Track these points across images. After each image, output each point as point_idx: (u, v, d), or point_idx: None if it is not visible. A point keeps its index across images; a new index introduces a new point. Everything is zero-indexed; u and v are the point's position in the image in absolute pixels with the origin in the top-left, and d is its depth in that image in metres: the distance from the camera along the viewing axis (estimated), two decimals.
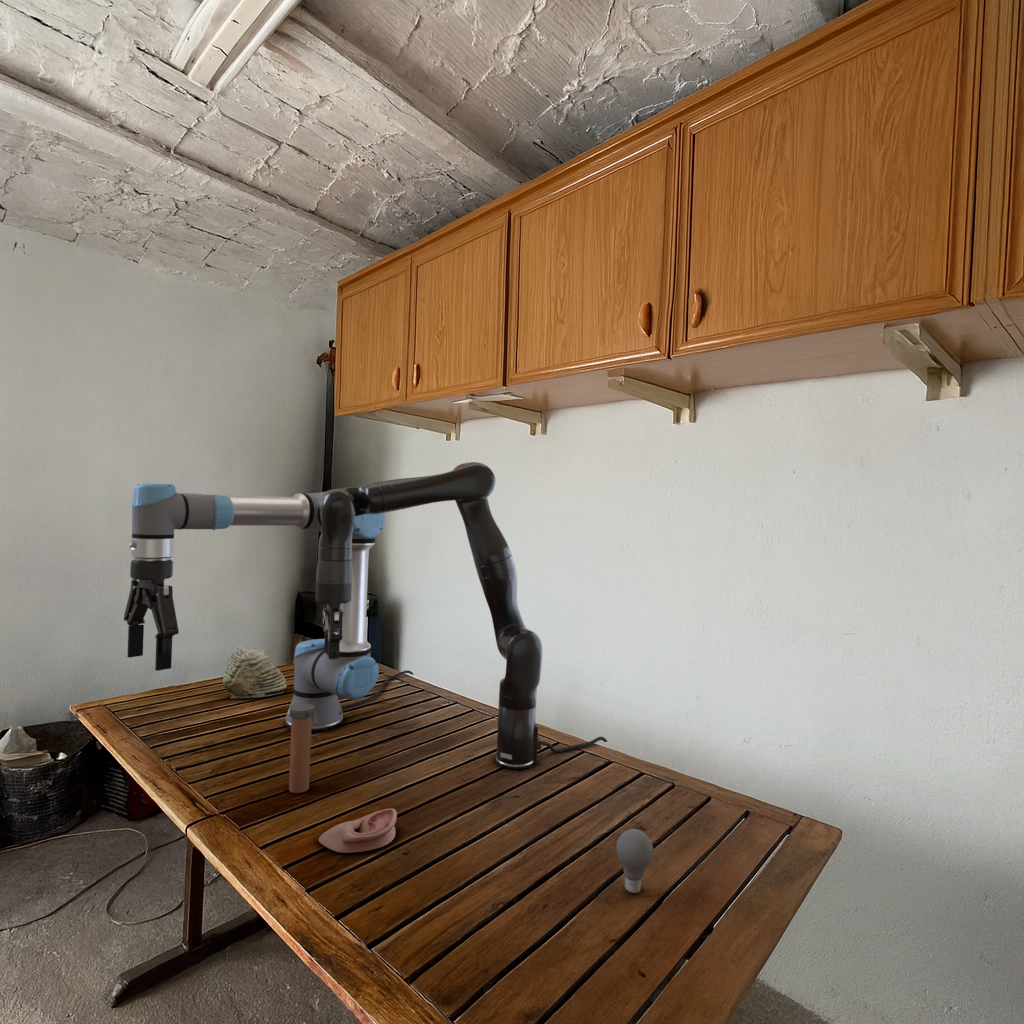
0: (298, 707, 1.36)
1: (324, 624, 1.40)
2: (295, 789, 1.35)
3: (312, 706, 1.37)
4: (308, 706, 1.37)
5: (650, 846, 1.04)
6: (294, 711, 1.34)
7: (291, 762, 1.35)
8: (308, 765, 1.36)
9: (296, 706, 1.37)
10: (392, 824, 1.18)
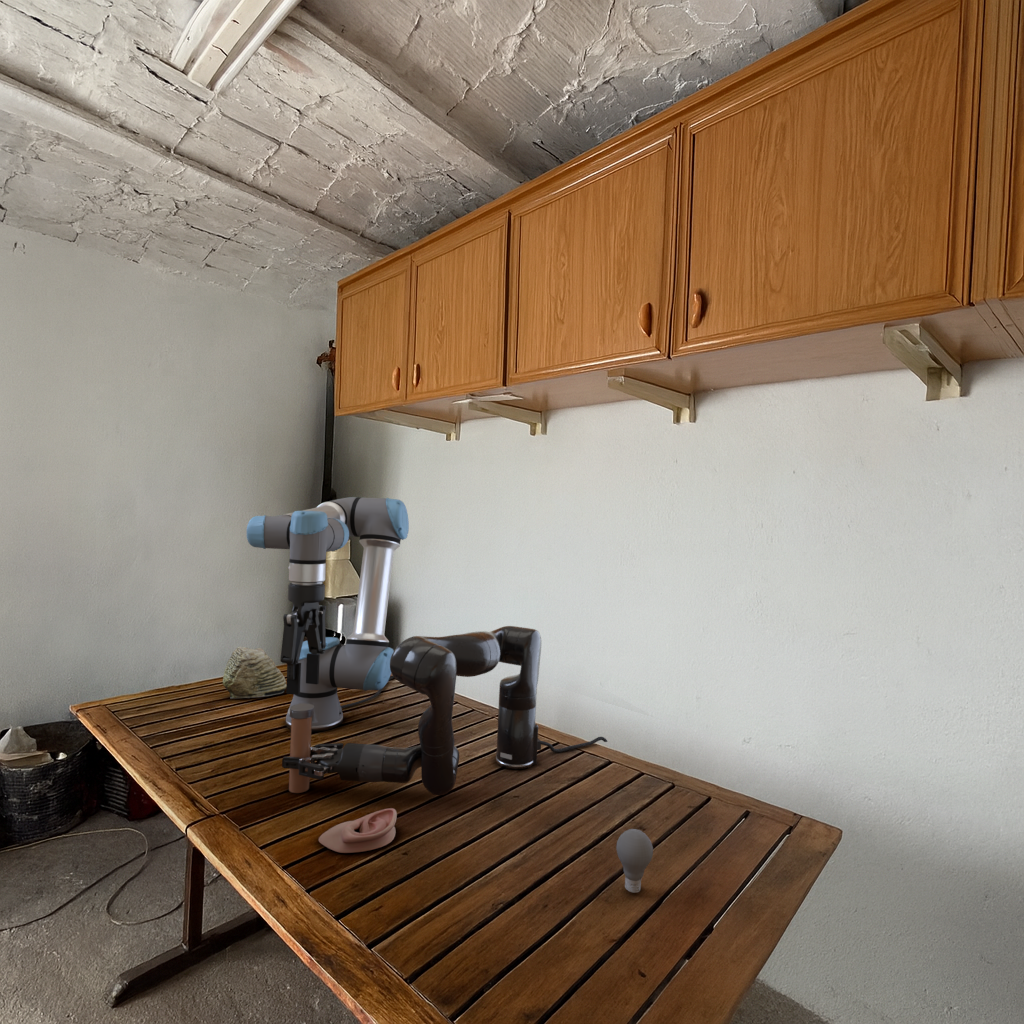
0: (298, 707, 1.36)
1: None
2: (295, 789, 1.35)
3: (312, 706, 1.37)
4: (308, 706, 1.37)
5: (650, 846, 1.04)
6: (294, 711, 1.34)
7: None
8: None
9: (296, 706, 1.37)
10: (392, 824, 1.18)
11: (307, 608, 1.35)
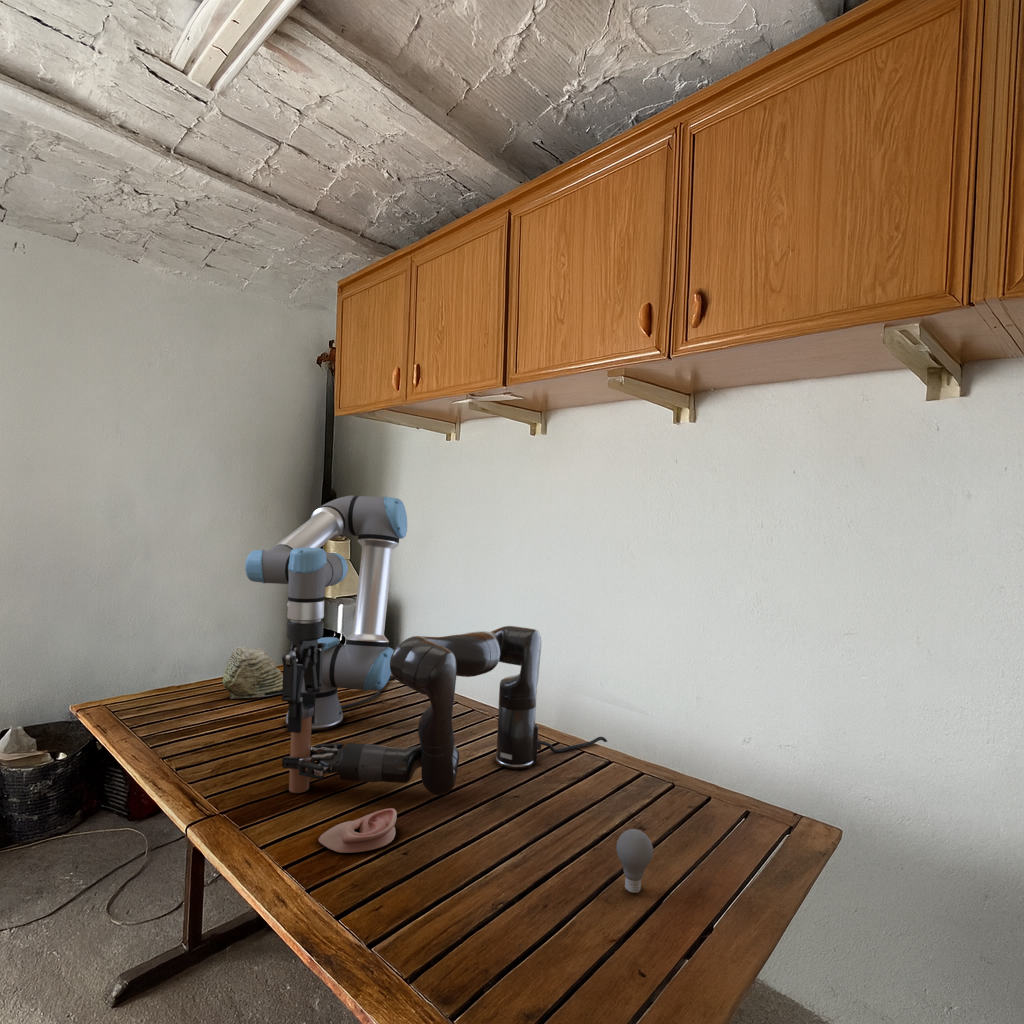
0: None
1: None
2: (295, 789, 1.35)
3: (312, 706, 1.37)
4: (308, 706, 1.37)
5: (650, 846, 1.04)
6: None
7: None
8: None
9: None
10: (392, 824, 1.18)
11: (306, 646, 1.35)
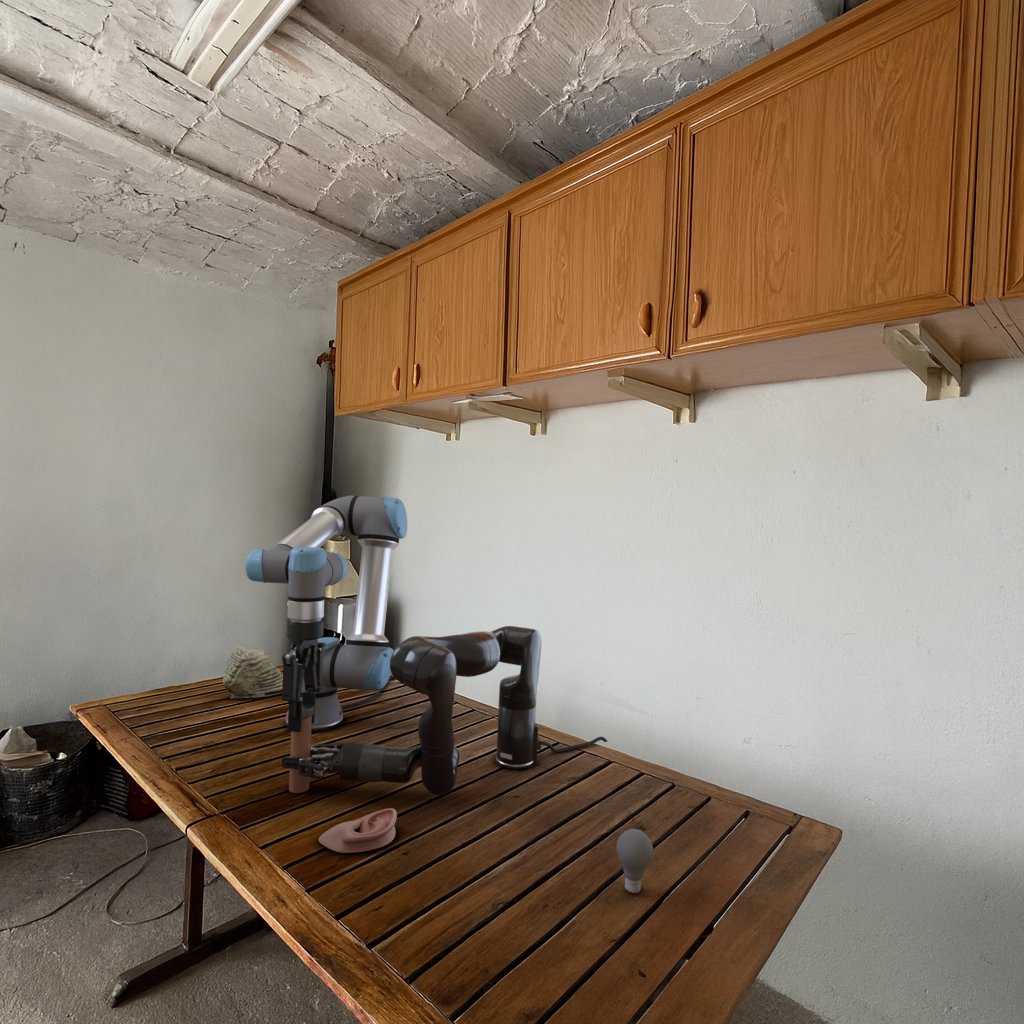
0: (302, 707, 1.36)
1: None
2: (295, 789, 1.35)
3: (304, 703, 1.39)
4: (302, 704, 1.38)
5: (650, 846, 1.04)
6: (309, 710, 1.35)
7: None
8: None
9: None
10: (392, 824, 1.18)
11: (306, 645, 1.35)
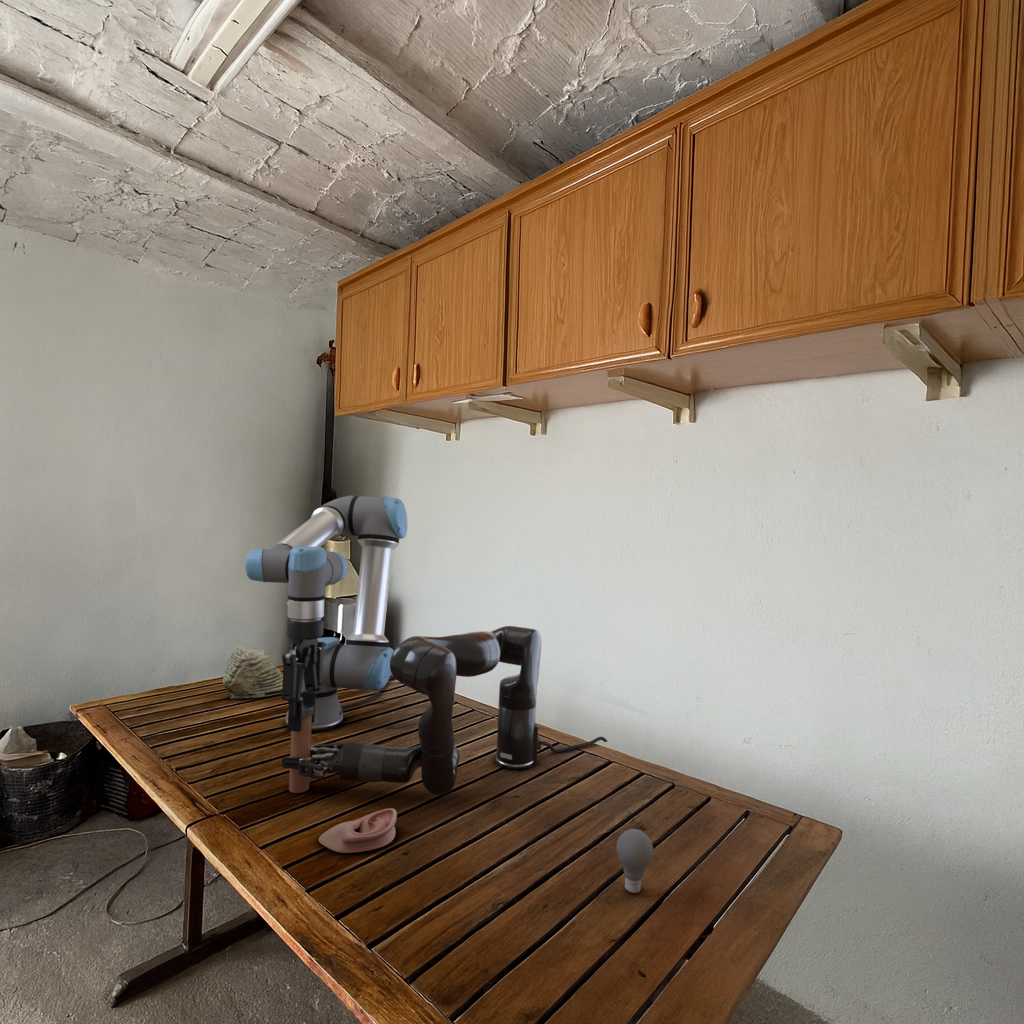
0: (305, 705, 1.37)
1: None
2: (295, 789, 1.35)
3: None
4: None
5: (650, 846, 1.04)
6: None
7: None
8: None
9: (306, 707, 1.36)
10: (392, 824, 1.18)
11: (306, 645, 1.35)
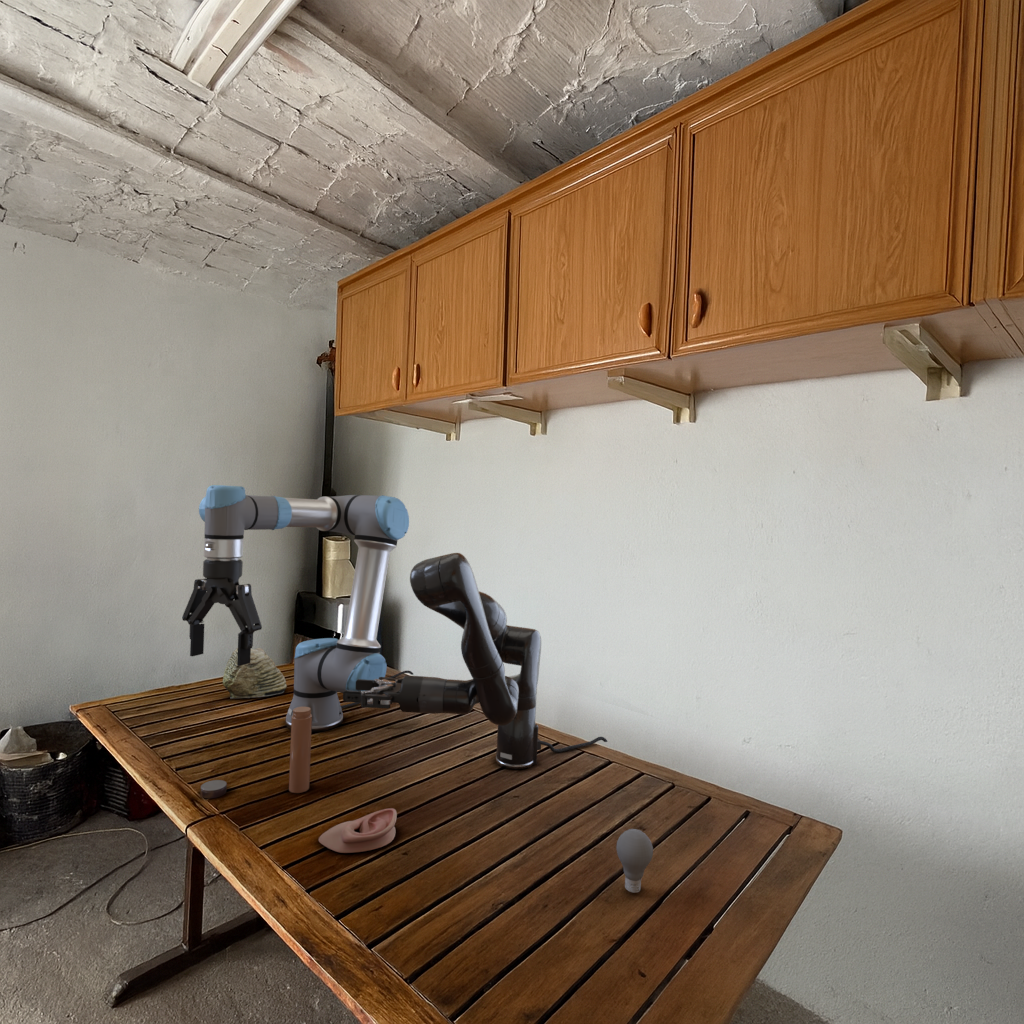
0: (210, 786, 1.33)
1: None
2: (295, 789, 1.35)
3: (224, 782, 1.35)
4: (220, 783, 1.34)
5: (650, 846, 1.04)
6: (209, 791, 1.31)
7: (291, 762, 1.35)
8: (308, 765, 1.36)
9: (207, 785, 1.33)
10: (392, 824, 1.18)
11: None
